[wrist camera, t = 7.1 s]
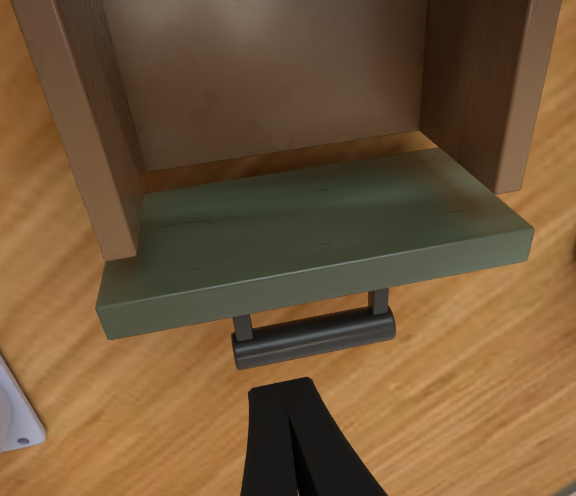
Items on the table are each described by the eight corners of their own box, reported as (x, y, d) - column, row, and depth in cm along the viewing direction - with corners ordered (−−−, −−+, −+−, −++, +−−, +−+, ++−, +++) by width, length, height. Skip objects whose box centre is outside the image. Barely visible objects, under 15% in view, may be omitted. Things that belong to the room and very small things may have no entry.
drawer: (426, 267, 22) (501, 370, 17) (156, 318, 21) (150, 446, 16) (487, -324, 12) (721, -512, 7) (-40, -301, 10) (-243, -514, 5)
